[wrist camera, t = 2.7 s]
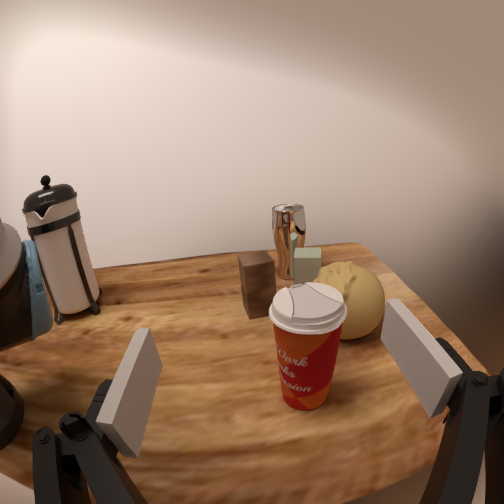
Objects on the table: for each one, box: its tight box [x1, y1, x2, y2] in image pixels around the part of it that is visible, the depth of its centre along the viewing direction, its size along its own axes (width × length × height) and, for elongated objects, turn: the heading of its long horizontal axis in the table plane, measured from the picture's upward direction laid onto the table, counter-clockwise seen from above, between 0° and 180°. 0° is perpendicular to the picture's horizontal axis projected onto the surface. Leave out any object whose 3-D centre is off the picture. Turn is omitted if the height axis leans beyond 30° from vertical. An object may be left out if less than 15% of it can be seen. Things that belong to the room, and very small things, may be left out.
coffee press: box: [22, 175, 102, 324], centre depth 50 cm, size 17×16×30 cm
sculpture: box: [313, 261, 385, 339], centre depth 42 cm, size 12×12×11 cm
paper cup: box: [269, 282, 347, 410], centre depth 29 cm, size 8×8×14 cm
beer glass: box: [272, 204, 306, 280], centre depth 61 cm, size 7×7×15 cm
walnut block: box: [238, 251, 276, 319], centre depth 49 cm, size 5×5×10 cm
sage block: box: [294, 248, 321, 285], centre depth 54 cm, size 5×5×8 cm
